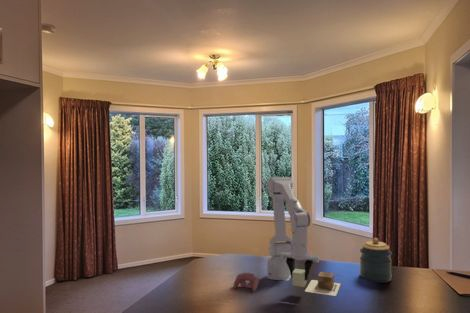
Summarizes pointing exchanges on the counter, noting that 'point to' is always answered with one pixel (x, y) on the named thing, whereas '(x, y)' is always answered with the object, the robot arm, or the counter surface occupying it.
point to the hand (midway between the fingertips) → (299, 278)
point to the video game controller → (249, 277)
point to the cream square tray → (314, 289)
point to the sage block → (298, 278)
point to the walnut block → (326, 280)
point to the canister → (375, 261)
